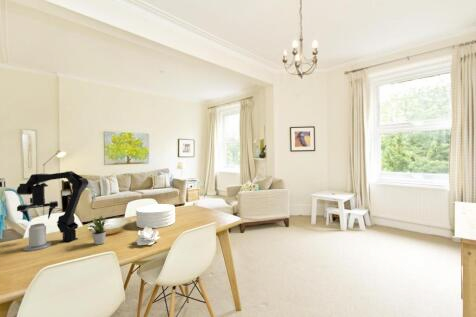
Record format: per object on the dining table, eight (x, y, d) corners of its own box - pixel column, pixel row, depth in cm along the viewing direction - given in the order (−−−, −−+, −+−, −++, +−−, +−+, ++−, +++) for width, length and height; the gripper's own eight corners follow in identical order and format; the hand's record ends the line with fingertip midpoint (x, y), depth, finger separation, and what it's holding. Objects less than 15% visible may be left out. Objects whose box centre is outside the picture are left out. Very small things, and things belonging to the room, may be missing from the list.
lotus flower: (136, 248, 130) (136, 232, 130) (132, 240, 142) (131, 226, 142) (162, 243, 138) (162, 228, 137) (156, 235, 150) (156, 222, 150)
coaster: (56, 243, 138) (56, 242, 138) (34, 252, 127) (34, 250, 127) (40, 242, 141) (40, 241, 141) (17, 250, 129) (17, 248, 129)
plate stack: (182, 220, 185) (182, 206, 185) (152, 230, 161) (152, 214, 161) (159, 216, 200) (158, 202, 200) (128, 224, 176) (128, 209, 176)
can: (36, 248, 129) (36, 226, 129) (25, 247, 131) (25, 226, 131) (49, 243, 137) (49, 222, 137) (39, 242, 138) (38, 222, 138)
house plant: (87, 240, 144) (86, 213, 144) (112, 236, 149) (112, 211, 149) (82, 248, 131) (81, 219, 131) (110, 244, 136) (109, 216, 136)
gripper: (57, 191, 155) (58, 215, 155) (19, 194, 144) (20, 219, 144) (57, 193, 146) (58, 218, 146) (16, 196, 135) (17, 223, 135)
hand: (38, 220), depth 143 cm, fingers open, 9 cm apart
